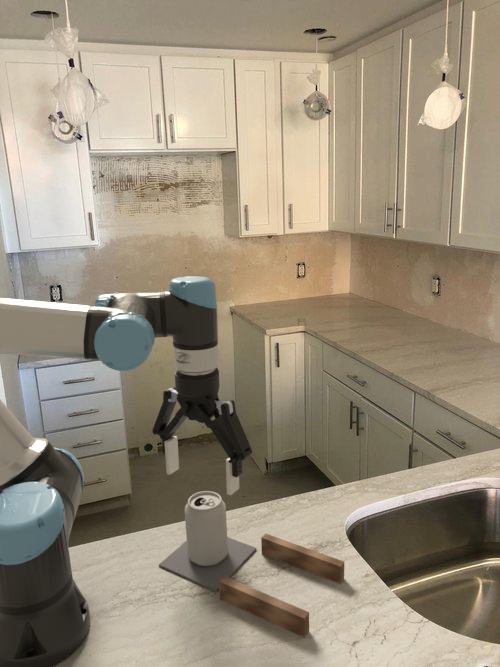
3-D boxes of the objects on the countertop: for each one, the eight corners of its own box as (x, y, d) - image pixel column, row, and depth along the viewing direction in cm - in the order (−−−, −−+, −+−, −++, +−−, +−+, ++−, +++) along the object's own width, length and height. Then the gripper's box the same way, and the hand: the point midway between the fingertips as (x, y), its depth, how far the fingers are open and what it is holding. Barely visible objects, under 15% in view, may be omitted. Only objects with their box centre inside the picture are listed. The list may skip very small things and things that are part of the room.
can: (194, 541, 106) (191, 486, 103) (232, 545, 105) (229, 489, 101) (182, 567, 99) (178, 508, 96) (222, 571, 98) (219, 512, 94)
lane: (219, 598, 92) (218, 581, 91) (265, 549, 104) (265, 533, 103) (304, 637, 83) (304, 618, 82) (344, 578, 95) (344, 561, 94)
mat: (159, 566, 100) (158, 564, 100) (202, 529, 111) (202, 527, 110) (216, 591, 93) (216, 590, 93) (256, 549, 104) (256, 547, 104)
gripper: (127, 363, 96) (136, 471, 101) (246, 388, 83) (248, 511, 88) (156, 352, 102) (163, 455, 107) (271, 374, 89) (272, 490, 94)
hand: (201, 481), depth 98 cm, fingers open, 13 cm apart
